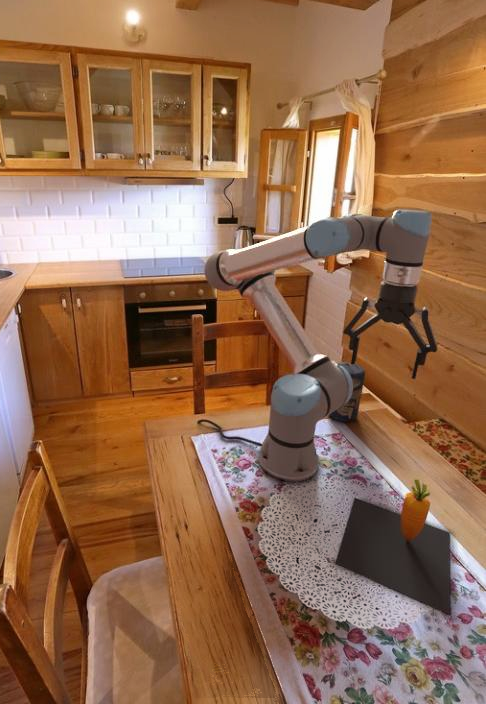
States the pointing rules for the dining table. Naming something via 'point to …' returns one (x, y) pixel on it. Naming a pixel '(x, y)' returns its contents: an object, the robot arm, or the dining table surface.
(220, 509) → the dining table surface
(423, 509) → the carrot
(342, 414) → the canister
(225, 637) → the dining table surface
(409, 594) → the mat
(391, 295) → the robot arm
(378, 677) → the dining table surface
